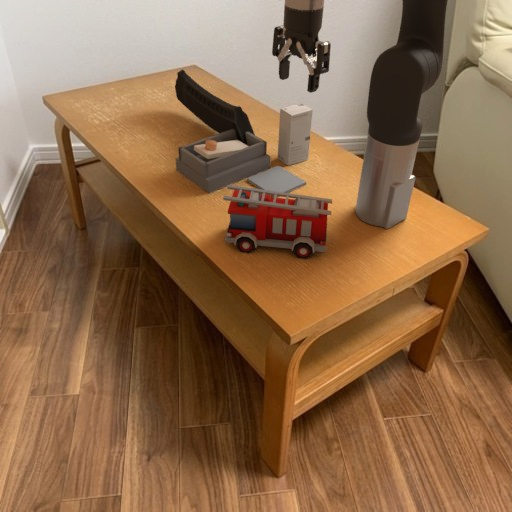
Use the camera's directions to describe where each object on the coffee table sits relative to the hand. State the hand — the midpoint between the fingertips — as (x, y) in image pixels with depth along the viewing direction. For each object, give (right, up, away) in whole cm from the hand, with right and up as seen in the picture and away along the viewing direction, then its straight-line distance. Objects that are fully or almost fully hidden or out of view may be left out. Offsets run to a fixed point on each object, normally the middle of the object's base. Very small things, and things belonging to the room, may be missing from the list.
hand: (297, 84), depth 116 cm
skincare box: (0, -14, +11) cm, 18 cm away
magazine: (-18, -4, +20) cm, 28 cm away
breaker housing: (-16, -17, +6) cm, 24 cm away
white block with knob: (-16, -13, +3) cm, 21 cm away
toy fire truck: (-5, -34, -14) cm, 36 cm away
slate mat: (-4, -20, +3) cm, 21 cm away
